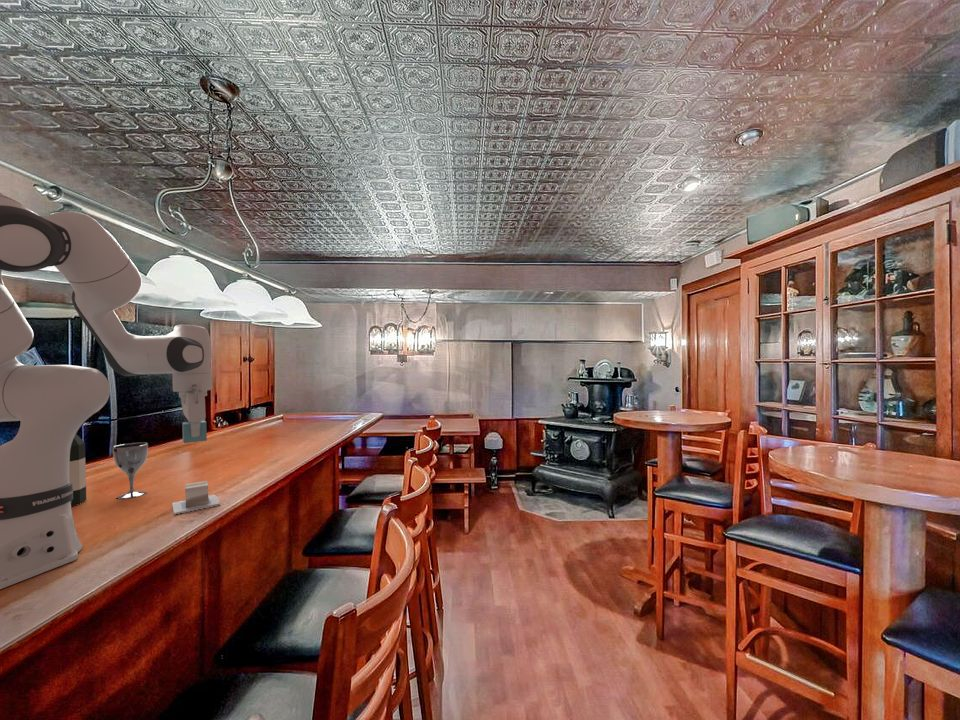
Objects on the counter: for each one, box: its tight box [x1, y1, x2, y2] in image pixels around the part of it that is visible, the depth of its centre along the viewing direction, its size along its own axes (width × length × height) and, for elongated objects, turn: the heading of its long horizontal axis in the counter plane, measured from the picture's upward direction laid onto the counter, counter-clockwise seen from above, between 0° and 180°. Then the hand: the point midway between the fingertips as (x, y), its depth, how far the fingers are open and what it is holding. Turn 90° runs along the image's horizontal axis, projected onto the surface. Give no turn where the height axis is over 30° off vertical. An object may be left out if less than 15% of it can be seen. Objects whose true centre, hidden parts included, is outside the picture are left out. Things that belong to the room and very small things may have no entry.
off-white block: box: [184, 480, 209, 507], centre depth 110 cm, size 5×5×5 cm
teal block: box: [181, 419, 208, 444], centre depth 109 cm, size 5×5×5 cm
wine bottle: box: [69, 433, 87, 507], centre depth 113 cm, size 8×8×30 cm
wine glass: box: [112, 441, 149, 500], centre depth 119 cm, size 8×8×15 cm
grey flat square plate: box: [171, 494, 221, 516], centre depth 109 cm, size 10×10×1 cm
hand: (194, 434), depth 109 cm, fingers closed on teal block, 5 cm apart
